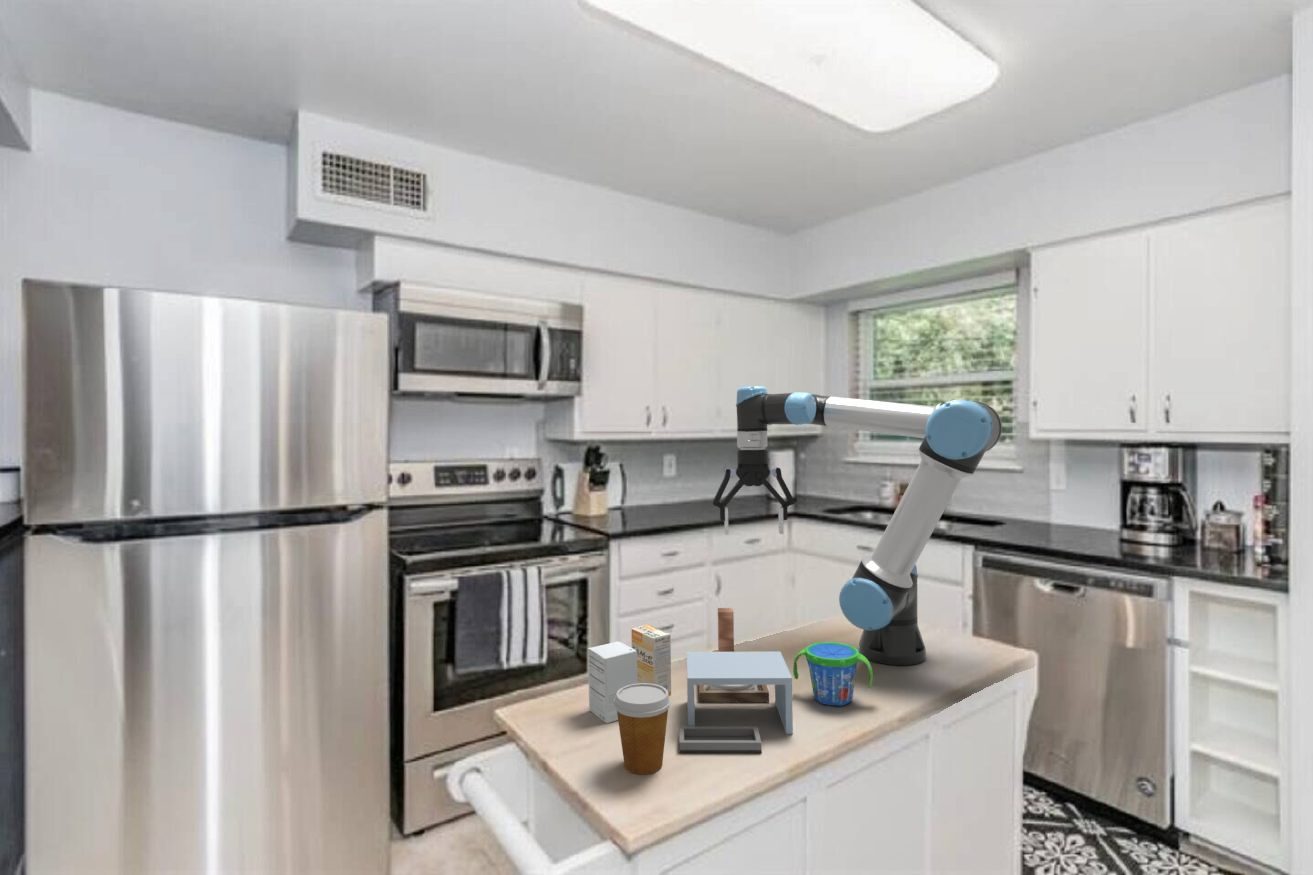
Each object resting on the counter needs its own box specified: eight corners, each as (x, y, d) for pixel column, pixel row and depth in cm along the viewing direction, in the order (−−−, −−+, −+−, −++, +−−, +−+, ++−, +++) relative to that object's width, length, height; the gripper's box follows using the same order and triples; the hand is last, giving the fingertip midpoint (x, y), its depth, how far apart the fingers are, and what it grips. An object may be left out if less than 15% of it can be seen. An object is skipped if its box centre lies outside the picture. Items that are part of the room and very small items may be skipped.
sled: (754, 657, 160) (754, 607, 160) (769, 702, 134) (768, 643, 134) (696, 657, 161) (695, 608, 160) (699, 702, 135) (698, 643, 135)
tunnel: (781, 701, 135) (780, 651, 134) (792, 733, 121) (792, 677, 120) (687, 701, 135) (686, 651, 135) (688, 733, 121) (687, 678, 121)
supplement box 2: (630, 688, 142) (629, 627, 142) (649, 683, 145) (648, 623, 145) (653, 701, 136) (652, 637, 136) (672, 695, 139) (671, 632, 138)
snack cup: (787, 702, 134) (786, 651, 134) (802, 683, 144) (802, 636, 143) (866, 717, 127) (866, 664, 127) (877, 697, 136) (877, 647, 136)
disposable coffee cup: (645, 745, 117) (644, 677, 117) (684, 764, 110) (682, 692, 110) (602, 764, 111) (601, 693, 111) (641, 786, 104) (639, 710, 104)
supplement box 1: (620, 701, 136) (619, 640, 136) (639, 714, 130) (638, 650, 129) (588, 710, 132) (586, 647, 132) (605, 724, 126) (604, 657, 125)
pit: (757, 736, 120) (757, 726, 120) (761, 752, 114) (761, 742, 114) (679, 736, 120) (679, 726, 120) (679, 752, 114) (679, 742, 114)
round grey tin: (731, 705, 134) (730, 688, 134) (698, 690, 142) (697, 674, 141) (765, 692, 140) (765, 675, 140) (731, 678, 148) (731, 663, 148)
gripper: (703, 450, 163) (704, 536, 163) (805, 448, 162) (806, 535, 163) (701, 449, 170) (703, 531, 171) (799, 447, 170) (801, 530, 170)
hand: (753, 533), depth 167 cm, fingers open, 13 cm apart
